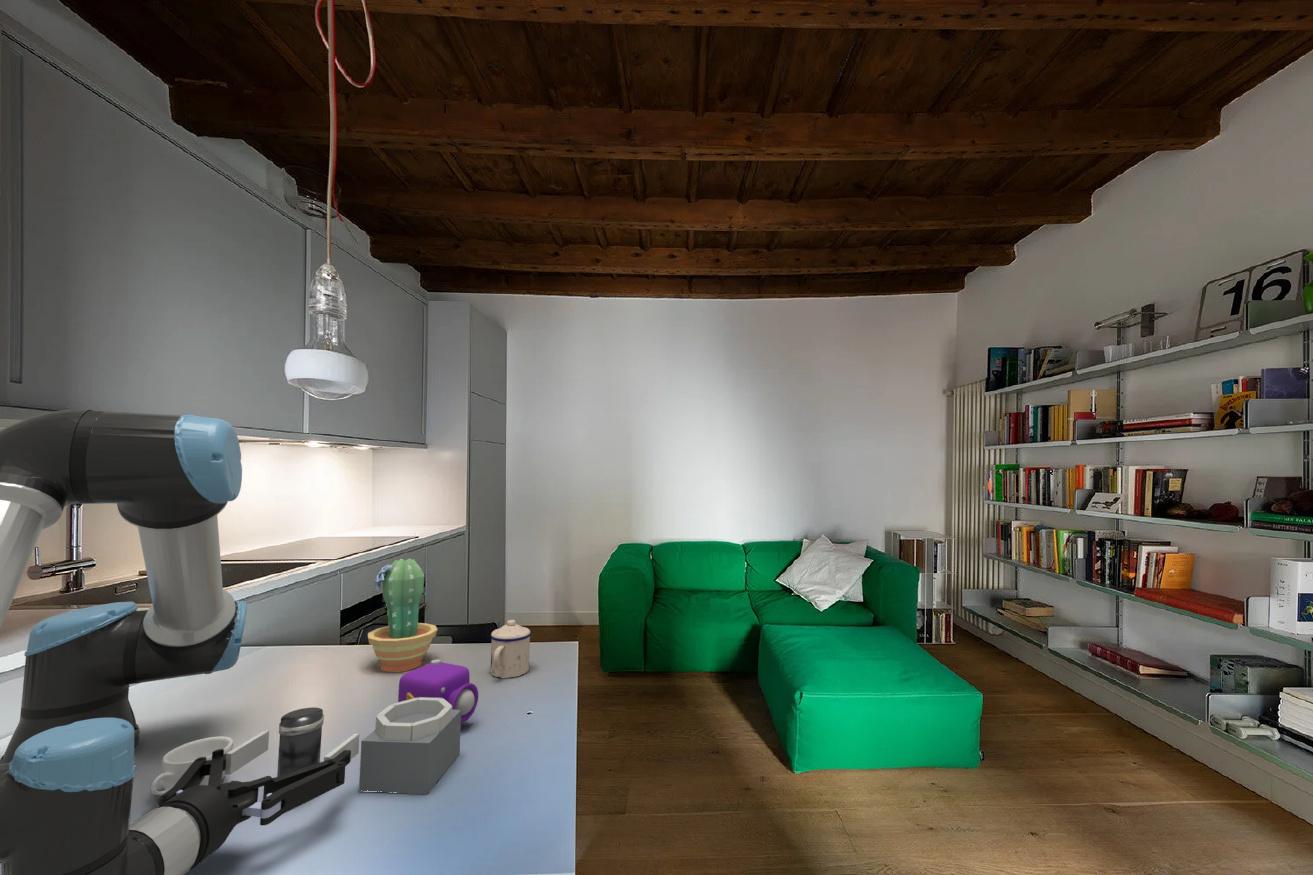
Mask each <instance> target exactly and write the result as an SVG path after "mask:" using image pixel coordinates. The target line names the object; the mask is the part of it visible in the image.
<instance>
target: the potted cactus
mask: <svg viewBox="0 0 1313 875" xmlns="http://www.w3.org/2000/svg"><path fill="white" fill-rule="evenodd" d="M381 583H382V585H381ZM424 585H425V573H424V572H423V569H422V568H421V567H420V566H419V564H418V562H416V560H415V559H414V558H413V559H412V558H408V559H407V558H406V559H403V558H400V559H399V560H397V559H394V561H393V562H392V563H391V564H386V565H384V566H382V568H381V569H380V571H379V573H378V574H377V575H376V577H375V579H374V586H375V592H378V591H379V589H381V586H382V596H383V600H384V603H385V605H386V609H387V611H386V612H387V622H388V625H387V626H386V625H385V626H383V627H378V628H376V629H374V630H371V631H369V632H368V633H367V639H368V644H369V645H371V646H372V649H373V652H374V654H375V657H376V658H377V660H378V661H379V662H380V670H381V671H384V672H385V673H386V672H387V673H400V672H407V671H410V670H411V671H412V670H415V669H418V668H419V667H420V666H421V665H422V664H423V663H422V659H423V657H424V656H425V655H426V653H427V652H428V651H429V648H430V646H431V643H432V640H433V639H434V637H436V636H437V632H438V628H437V626H436V625H435V624H431V623H426V622H424V623H423V622H419V611H420V610H419V609H420V608H419V607H420V606H419V605H420V601H421V598H422V596H423V593H424Z"/></svg>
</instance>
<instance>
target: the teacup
mask: <svg viewBox="0 0 1313 875" xmlns="http://www.w3.org/2000/svg"><path fill="white" fill-rule="evenodd" d="M233 745H234V741H233V738H231V737H230V736H225V735H224V736H223V735H222V736H220V735H219V736H210V737H205V738H201V739H195V740H193V741H190V742H186V743H184V744H182V745H180V746H177V747H175V748H173V749H171V750H170V751H168V752H167V753H165V754H164V756H163V757H162V763H161V764H162V766H161V769H162V770H161V771H162V773H161V774H159V775H158V776H157V777H155V779H154V780H153V781H152V783H151V786H150V793H151V794H152V795H155V796H161V795H163V794H164V793H166V792H167V791H169V790H170V789H172V788H173V786H174V785H175V784H176V783H177V782H178V780H179V779H180V778H181V777H182V775H183V774H184V773H185V772H186V770H187V769H188V768H189V767H190V765H191V764H192V763H193V762H194V761H195V760H196V759H198V758H200V757H206V761H207V760H212V752H213V751H215V750H218V749H224V754H226V753H227V752H229V751H231V750H232V749H233V748H234V747H233ZM209 776H210V775H208V776H205V778H204V779H203V781H202V782H201V783H200V785H208V781H209ZM225 776H226V775H225V770H224V771H222V780H223V779H224V778H225ZM161 780H162V785H163V787H164V789H163V790H161V791H158V790H157V785H158V783H159V782H160V781H161Z"/></svg>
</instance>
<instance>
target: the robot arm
mask: <svg viewBox="0 0 1313 875" xmlns="http://www.w3.org/2000/svg"><path fill="white" fill-rule="evenodd" d="M241 459H242V452H241V446H240V442H239V437H238V434H237V431H236V430H235V428H234V427H233V425H232V424H231V423H229V422H228V421H226V420H223V419H221V418H217V417H207V416H206V417H205V416H198V415H196V414H183V415H176V414H162V413H161V414H157V413H145V412H144V413H143V412H142V413H139V412H125V411H124V412H123V411H107V410H105V411H102V410H101V411H100V410H92V409H81V408H80V409H79V408H78V409H63V410H55V411H50V412H45V413H41V414H38V415H34V416H30V417H28V418H25V419H23V420H20V421H17V422H15V423H13V424H11V425H8V426H7V427H5V428H2V429H1V430H0V630H1V629H2V627H3V624H4V622H5V620H6V617H7V615H8V612H9V610H10V608H11V605H12V604H13V603H12V602H13V600H14V597H15V595H16V593H17V591H18V588H19V586H20V584H21V581H22V578H23V576H24V574H25V571H26V569H27V566H28V565H29V564H28V563H29V561H30V559H31V557H32V554H33V552H34V550H35V547H36V545H37V543H38V540H39V538H40V535H41V533H42V530H44V529H47V528H49V527H52V526H53V525H55V524H57V522H58V521H59V520H60V518H61V516H62V514H63V511H64V509H65V507H66V506H69V505H75V504H82V505H83V504H84V505H85V504H88V505H89V504H91V505H92V504H93V505H94V504H116V506H117V510H118V513H119V515H120V516H121V518H122V519H124V521H126V522H127V523H129V524H130V525H133V526H134V527H137V529H138V534H139V540H140V545H141V549H142V556H143V561H144V566H145V571H146V576H147V581H148V586H149V592H150V596H151V602H152V605H151V606H150V607H149V608H148V609H145V610H138V606H137V604H136V603H135V602H134V601H119V602H116V601H115V602H110V603H105V604H98V605H93V606H89V607H88V606H87V607H85V608H80V609H79V608H78V609H76V610H75V609H74V610H70V611H67V612H64V613H59V614H56V615H53V616H50V617H47V618H45V619H43V620H41V621H40V622H38V623H36V624H35V625H33V627H32V628H31V630H30V631H29V636H28V642H27V647H26V651H24V657H25V660H24V661H25V662H24V673H23V683H22V694H21V696H22V697H21V703H20V704H21V707H20V716H19V721H18V724H17V726H16V729H15V730H14V732H13V734H12V736H11V738H10V741H9V743H8V745H7V747H6V749H5V752H4V754H3V755H2V756H1V758H0V870H1V872H0V874H1V875H186V874H187V873H188V872H190V871H192V870H193V869H195V867H197V866H198V865H199V864H200V863H202V862H203V861H205V860H206V859H207V858H208V857H210V856H211V855H212V854H213V853H214V852H216V851H217V850H219V849H220V847H222V845H223V844H224V843H225V842H226V841H227V839H228V837H229V836H230V834H231V833H232V831H233V830H234V828H235V827H236V826H237V825H239V824H240V823H243V822H244V821H247V820H249V819H250V818H252V817H253V818H259V825H260V826H266V825H270V824H271V823H273V822H274V821H276V820H277V819H278V818H280V817H281V816H282V815H284V814H286V813H288V812H289V811H293V810H294V809H296V808H299V807H300V806H301V805H304V804H306V803H308V802H310V801H312V800H314V799H316V798H318V797H320V796H322V795H324V794H326V793H329V792H330V791H332V790H334V789H336V788H338V787H341V786H342V785H344V784H345V779H346V767H347V766H348V765H349V764H350V763H351V760H353V758H354V757H356V756H357V755H358V754H359V750H360V748H359V747H360V733H353V734H352V735H351V736H349V737H348V738H347V739H345V740H344V741H342V743H340V744H339V745H338V746H336V747H335V748H334V749H332V750H331V751H329V753H327V754H326V755H325V756H324V757H323V761H320V763H317V764H314V765H311V766H308V767H305V768H302V769H299V770H296V771H293V772H290V773H287V774H284V775H281V776H278V777H277V776H275V777H272V776H271V775H266V776H262V777H260V778H257V779H254V780H251V781H239V780H230V781H229V782H228V781H227V782H224V783H222V781H223V779H222V771H224V770H225V776H226V775H232V774H233V773H235V772H236V771H238V770H240V769H241V768H243V767H244V766H247V764H249V763H251V762H252V761H254V760H255V759H257V758H258V757H259V756H261V755H263V754H265V753H266V752H267V751H268V750H269V744H270V743H269V741H270V730H263V731H262V732H259V733H258V734H256V735H255V736H253V737H251V738H250V739H248V740H246V741H245V742H242V743H241V744H240V745H238V746H236V747H235V748H234V747H233V748H232V750H231V751H229V752H227V753H226V754H224V749H218V750H215V751H213V752H212V760H207V761H206V757H200V758H198V759H196V760H195V761H194V762H193V763H192V764H191V765H190V767H189V768H188V769H187V770H186V772H185V773H184V774H183V775H182V777H181V778H180V779H179V780H178V782H177V783H176V784H175V785H174V786H173V788H172V789H170V790H169V791H167V792H166V793H164V794H163V795H159V797H158V800H157V807H156V808H154V809H152V810H150V811H148V812H146V813H145V814H143V815H141V816H140V817H139V818H137V819H136V820H134V821H132V822H130V819H131V817H130V816H131V810H132V809H131V807H132V806H131V805H132V798H133V786H134V779H135V778H134V776H135V774H136V771H137V765H136V764H135V750H136V749H137V748H138V747H139V743H140V732H141V731H140V727H139V725H138V724H137V721H136V716H135V713H134V711H133V708H132V705H131V703H130V700H129V693H130V685H134V684H135V685H137V684H143V683H148V682H150V683H151V682H155V681H161V680H162V681H163V680H169V679H177V678H183V677H190V676H192V677H193V676H197V675H210V674H212V673H215V672H221V671H225V670H230V669H231V668H234V666H235V665H236V664H237V662H238V660H239V657H240V652H241V647H242V639H243V636H244V630H245V624H246V619H247V611H248V604H247V602H246V601H243V600H235V598H234V597H233V595H232V594H231V593H230V592H229V591H227V590H225V589H224V588H223V575H222V574H223V573H222V572H223V571H222V563H221V560H222V559H221V547H220V536H219V535H220V533H219V531H220V530H219V520H218V519H219V517H218V515H219V514H220V513H221V512H223V510H224V509H225V508H226V506H227V505H228V503H229V502H233V501H235V500H236V499H237V498H238V497H239V494H240V492H241V488H242V479H243V465H242V460H241ZM208 775H210V776H209V781H208V785H200V783H201V782H202V781H203V779H204V778H205V776H208ZM262 787H263V793H262V794H263V795H262V796H263V797H262V800H261V801H258V799H259V788H262Z"/></svg>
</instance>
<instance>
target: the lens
mask: <svg viewBox="0 0 1313 875" xmlns="http://www.w3.org/2000/svg"><path fill="white" fill-rule="evenodd" d="M324 718H325V714H324V710H323V709H322V708H320V707H304V708H299V709H295V710H293V711H290V712H288V713H285V714H284V715H283V716H281V718H280V721H279V724H278V734H279V744H278V756H277V758H278V759H277V772H276V777H278V776H281V775H284V774H287V773H290V772H293V771H296V770H299V769H302V768H305V767H308V766H311V765H314V764H317V763H320V762H321V752H322V750H321V749H322V734H323V725H324V721H325V720H324Z"/></svg>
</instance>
